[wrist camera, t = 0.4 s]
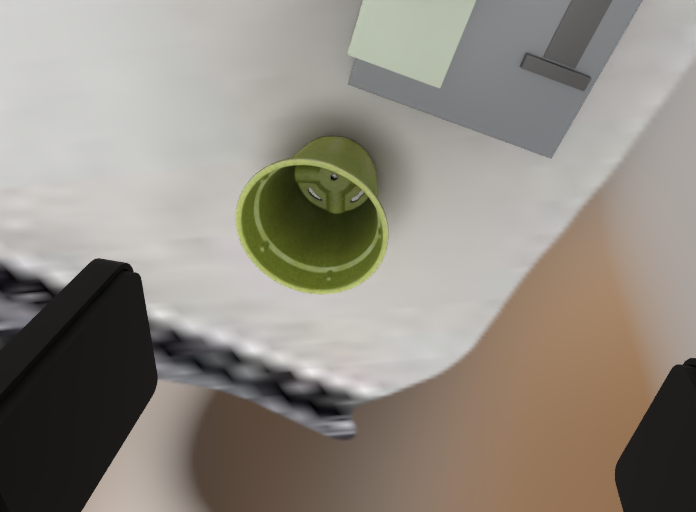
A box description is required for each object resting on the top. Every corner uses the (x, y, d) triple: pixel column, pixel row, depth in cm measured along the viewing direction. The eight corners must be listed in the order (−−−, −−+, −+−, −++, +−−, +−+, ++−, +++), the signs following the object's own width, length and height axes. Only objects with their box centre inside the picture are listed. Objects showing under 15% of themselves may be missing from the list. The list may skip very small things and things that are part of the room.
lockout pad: (381, -56, 30) (379, -55, 29) (482, -19, 30) (482, -16, 29) (349, 50, 33) (346, 54, 33) (440, 84, 34) (440, 88, 33)
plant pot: (328, 82, 36) (297, 125, 29) (427, 174, 39) (420, 236, 31) (250, 172, 41) (207, 229, 34) (342, 249, 43) (320, 318, 36)
